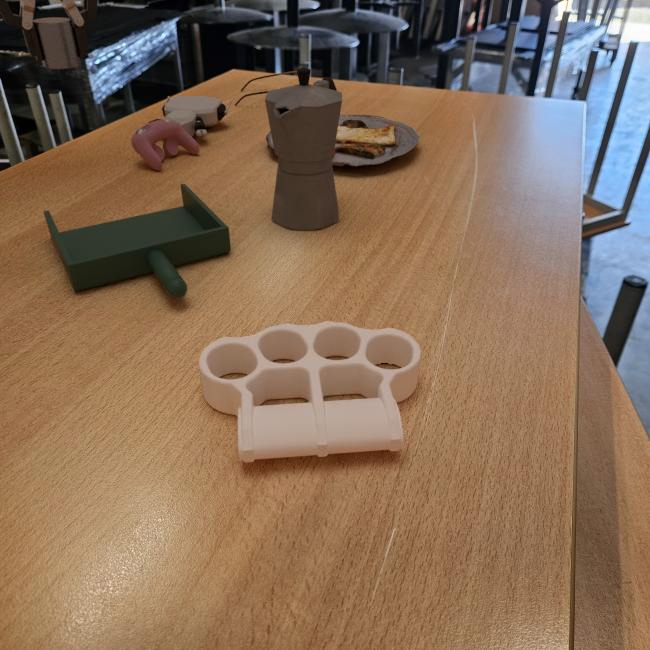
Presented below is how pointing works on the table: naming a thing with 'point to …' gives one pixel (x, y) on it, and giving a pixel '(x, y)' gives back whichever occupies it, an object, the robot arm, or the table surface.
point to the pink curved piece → (171, 139)
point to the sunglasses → (260, 78)
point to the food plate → (368, 140)
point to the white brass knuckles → (312, 388)
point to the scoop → (142, 245)
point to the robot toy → (194, 112)
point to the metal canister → (57, 42)
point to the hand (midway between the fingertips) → (60, 57)
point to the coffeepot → (304, 152)
